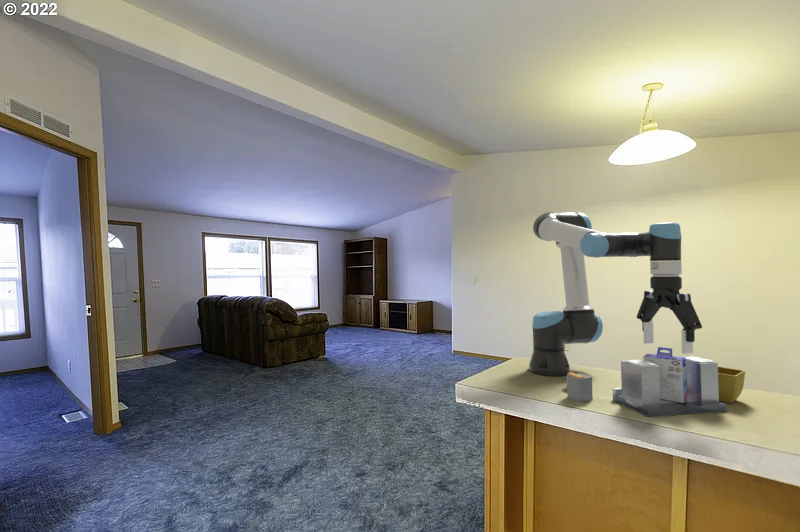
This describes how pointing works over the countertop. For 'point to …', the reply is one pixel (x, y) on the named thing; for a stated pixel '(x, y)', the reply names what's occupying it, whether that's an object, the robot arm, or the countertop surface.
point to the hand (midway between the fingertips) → (666, 348)
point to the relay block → (579, 387)
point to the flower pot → (730, 383)
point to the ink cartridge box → (670, 375)
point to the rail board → (645, 388)
